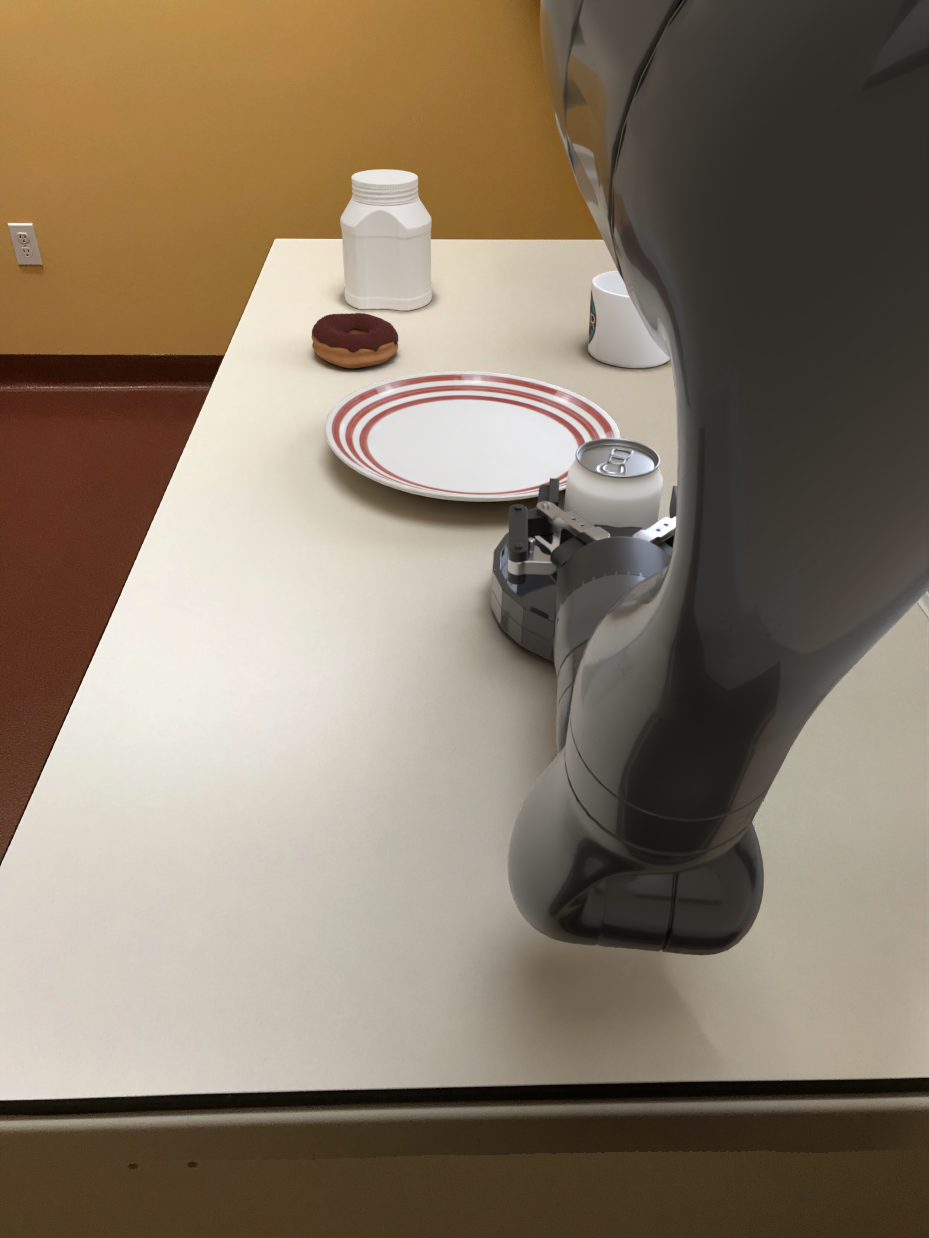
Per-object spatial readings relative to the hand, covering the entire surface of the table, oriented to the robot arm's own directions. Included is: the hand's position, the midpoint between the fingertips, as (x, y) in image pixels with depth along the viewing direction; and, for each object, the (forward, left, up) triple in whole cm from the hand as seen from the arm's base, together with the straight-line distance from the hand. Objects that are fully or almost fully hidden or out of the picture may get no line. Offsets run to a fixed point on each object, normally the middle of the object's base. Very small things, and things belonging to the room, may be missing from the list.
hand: (614, 493), depth 67 cm
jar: (-19, -69, -9) cm, 72 cm away
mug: (-35, -39, -9) cm, 53 cm away
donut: (-6, -53, -9) cm, 54 cm away
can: (+1, +1, -9) cm, 9 cm away
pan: (+1, +1, -9) cm, 9 cm away
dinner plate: (-4, -25, -9) cm, 27 cm away
